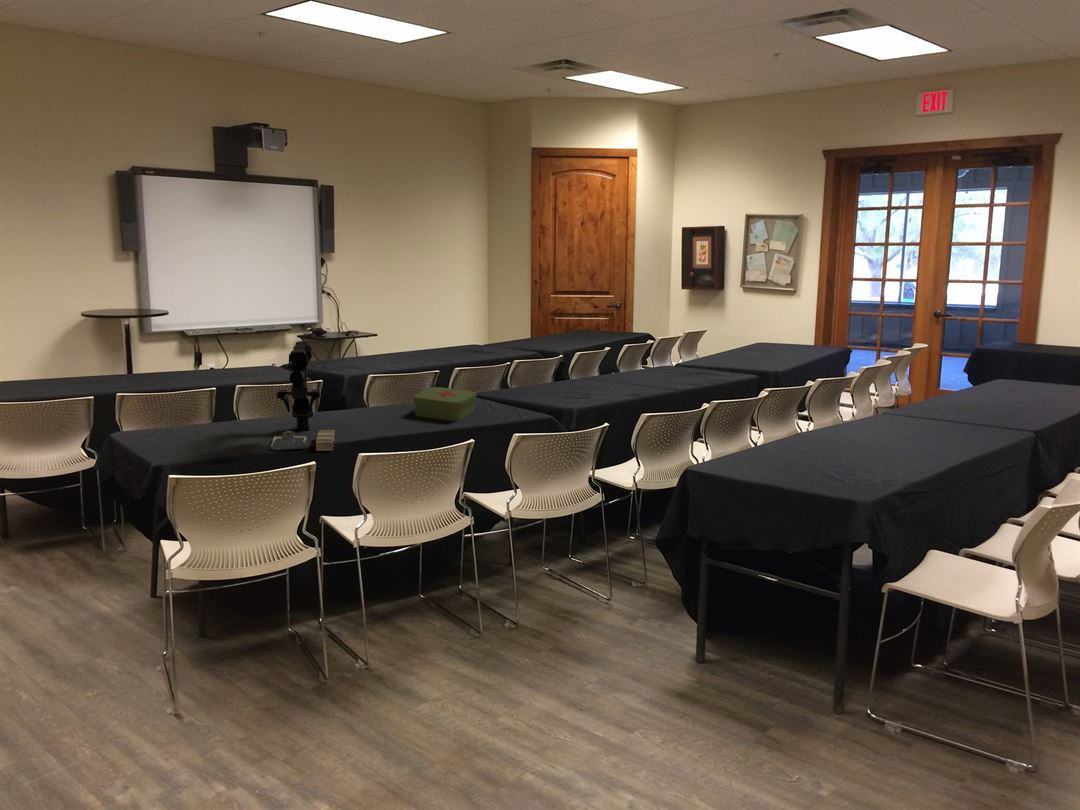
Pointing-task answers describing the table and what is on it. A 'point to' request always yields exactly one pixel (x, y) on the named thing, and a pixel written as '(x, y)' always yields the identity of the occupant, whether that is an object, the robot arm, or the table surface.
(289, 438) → the dark grey block
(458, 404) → the first aid kit
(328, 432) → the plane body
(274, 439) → the parts tray
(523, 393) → the table surface
